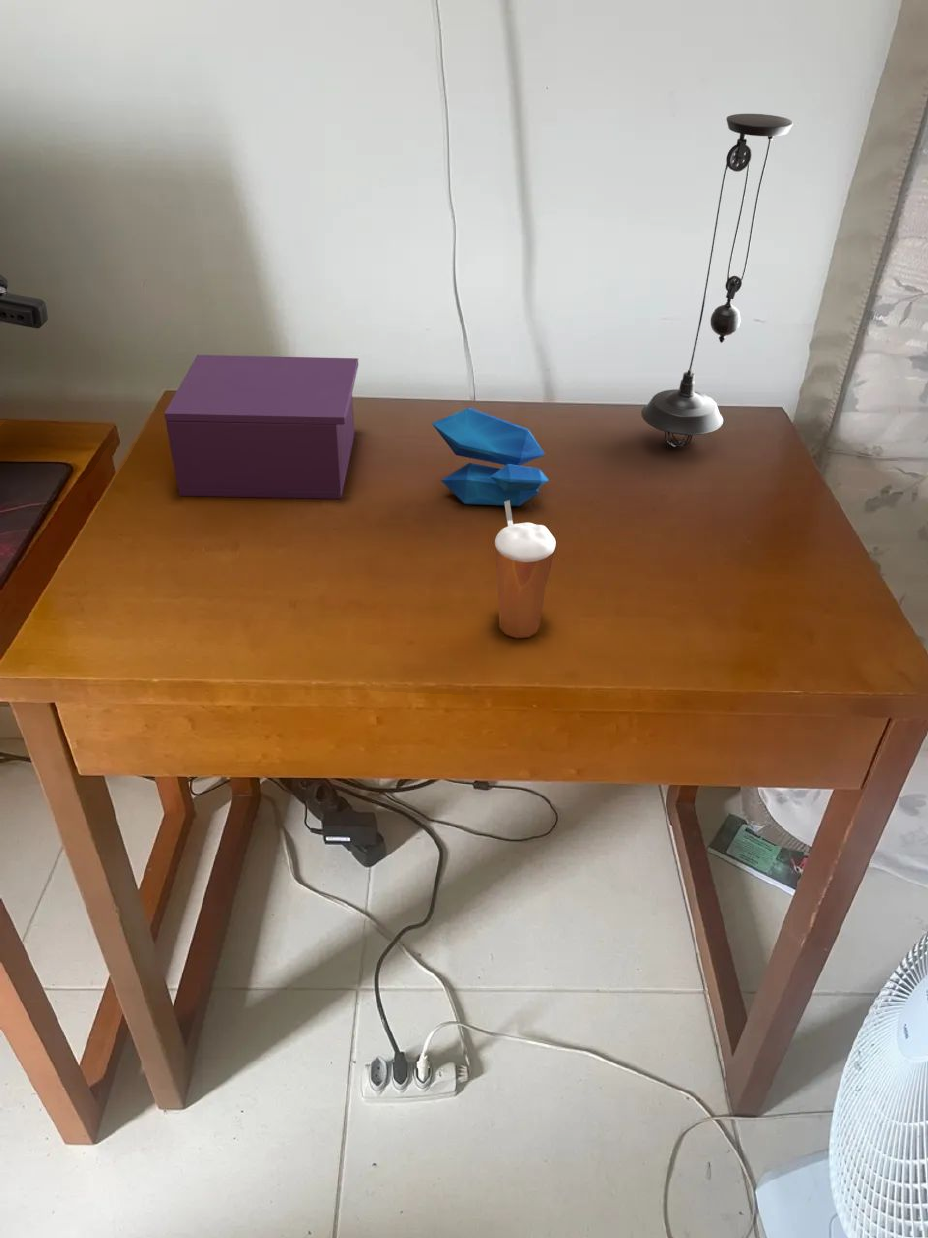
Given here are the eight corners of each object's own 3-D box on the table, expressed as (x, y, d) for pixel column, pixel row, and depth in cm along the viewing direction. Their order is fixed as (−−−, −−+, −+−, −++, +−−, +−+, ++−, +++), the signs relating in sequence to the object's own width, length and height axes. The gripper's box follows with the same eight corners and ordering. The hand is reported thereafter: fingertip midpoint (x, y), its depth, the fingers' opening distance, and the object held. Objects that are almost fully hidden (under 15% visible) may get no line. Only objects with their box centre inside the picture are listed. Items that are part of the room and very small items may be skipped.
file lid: (358, 365, 101) (358, 357, 100) (345, 425, 90) (344, 416, 89) (198, 361, 100) (197, 354, 100) (165, 421, 90) (163, 412, 89)
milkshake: (525, 598, 82) (532, 494, 76) (558, 634, 78) (568, 528, 72) (476, 612, 80) (480, 507, 74) (507, 650, 77) (514, 542, 71)
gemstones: (561, 456, 88) (431, 420, 87) (533, 535, 93) (410, 502, 92) (562, 419, 94) (441, 385, 93) (536, 495, 99) (421, 464, 98)
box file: (354, 434, 105) (350, 365, 101) (341, 499, 94) (336, 424, 90) (208, 431, 105) (198, 362, 100) (178, 495, 94) (165, 421, 90)
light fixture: (706, 422, 109) (764, 109, 90) (743, 457, 103) (814, 128, 84) (624, 431, 107) (666, 112, 88) (657, 468, 101) (710, 132, 82)
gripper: (-203, 265, 82) (4, 304, 82) (-115, 212, 92) (68, 247, 92) (-178, 348, 87) (17, 385, 87) (-97, 289, 97) (77, 322, 97)
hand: (43, 314), depth 90 cm, fingers closed
